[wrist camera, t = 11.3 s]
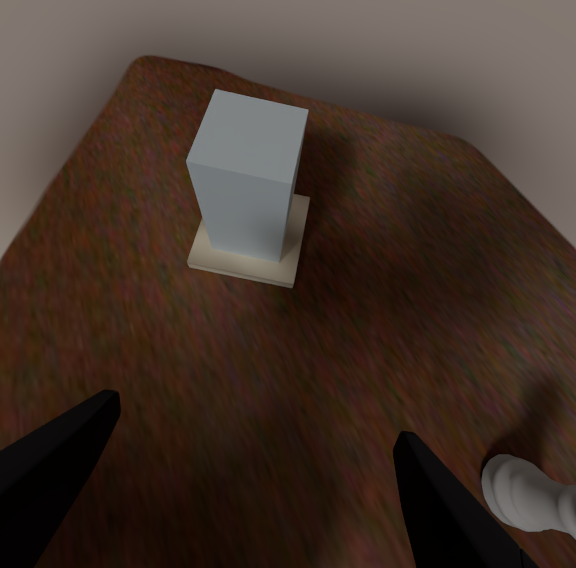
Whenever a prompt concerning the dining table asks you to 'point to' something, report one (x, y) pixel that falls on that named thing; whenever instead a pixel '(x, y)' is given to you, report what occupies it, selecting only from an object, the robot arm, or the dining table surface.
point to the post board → (254, 267)
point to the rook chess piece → (528, 496)
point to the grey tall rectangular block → (247, 172)
